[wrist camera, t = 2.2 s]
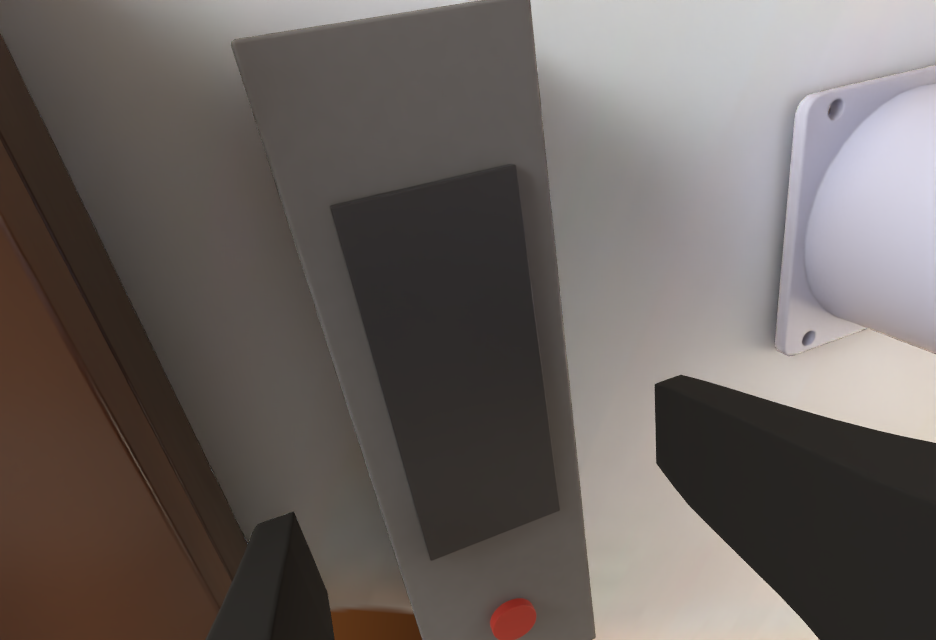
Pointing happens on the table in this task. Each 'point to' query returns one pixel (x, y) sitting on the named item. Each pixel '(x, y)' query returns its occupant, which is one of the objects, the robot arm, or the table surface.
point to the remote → (439, 299)
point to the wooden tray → (90, 429)
